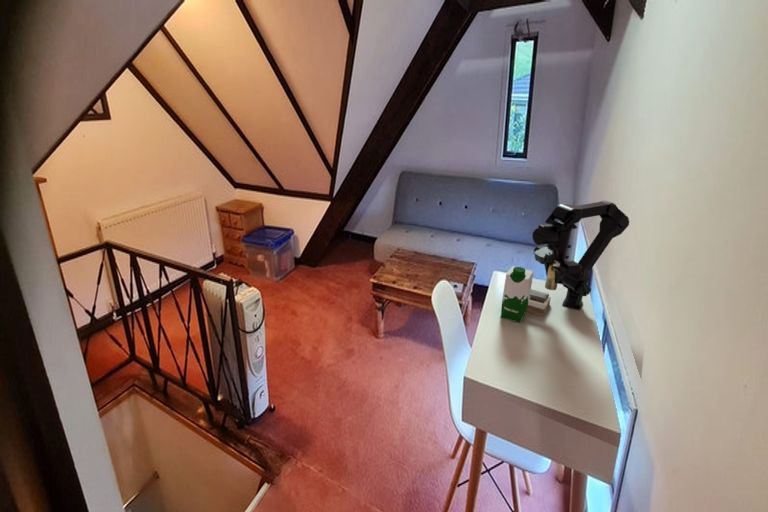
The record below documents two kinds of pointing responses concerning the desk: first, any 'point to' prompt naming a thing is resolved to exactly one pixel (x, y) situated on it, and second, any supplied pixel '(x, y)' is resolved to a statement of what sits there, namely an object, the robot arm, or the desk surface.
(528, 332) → the desk surface
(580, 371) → the desk surface
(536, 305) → the socket block
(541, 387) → the desk surface
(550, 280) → the peg
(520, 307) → the milk carton
